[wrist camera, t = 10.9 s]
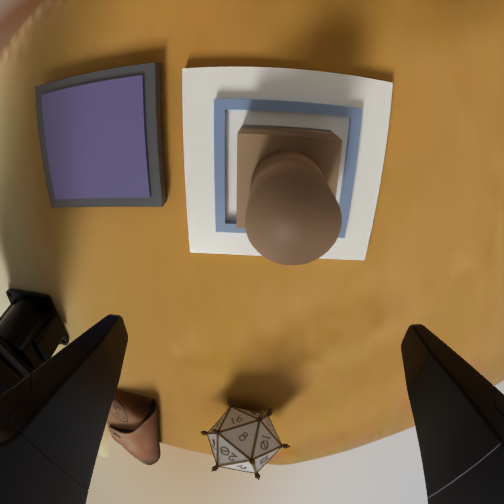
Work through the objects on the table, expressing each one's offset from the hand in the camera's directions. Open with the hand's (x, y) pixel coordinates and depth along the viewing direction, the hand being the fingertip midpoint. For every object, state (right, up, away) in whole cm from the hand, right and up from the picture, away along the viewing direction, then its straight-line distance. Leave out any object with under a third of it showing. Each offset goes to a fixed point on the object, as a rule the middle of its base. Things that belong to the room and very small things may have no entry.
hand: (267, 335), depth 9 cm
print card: (+2, +8, +10) cm, 12 cm away
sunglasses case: (-17, -21, +29) cm, 39 cm away
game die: (-1, -15, +24) cm, 28 cm away
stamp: (+1, +7, +9) cm, 12 cm away
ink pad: (-10, +10, +9) cm, 17 cm away
